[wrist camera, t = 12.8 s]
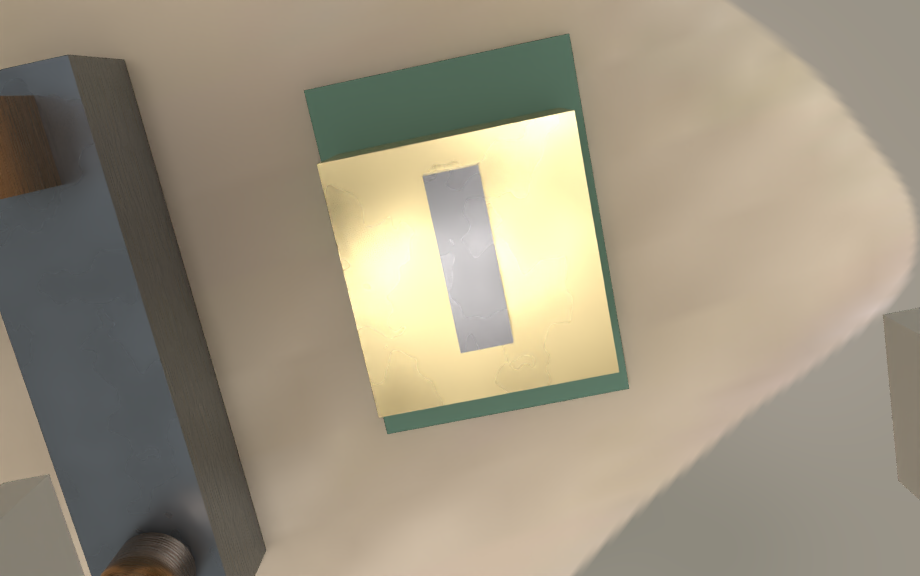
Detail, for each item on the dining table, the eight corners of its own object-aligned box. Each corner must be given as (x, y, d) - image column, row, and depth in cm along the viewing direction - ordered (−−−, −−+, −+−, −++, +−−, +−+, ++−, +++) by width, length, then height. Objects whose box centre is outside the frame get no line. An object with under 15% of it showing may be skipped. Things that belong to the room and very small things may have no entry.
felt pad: (307, 90, 31) (304, 90, 31) (567, 34, 31) (569, 33, 30) (389, 428, 35) (387, 434, 34) (626, 383, 34) (629, 388, 33)
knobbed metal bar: (-2, 87, 32) (-212, 86, 22) (124, 59, 31) (-33, 46, 22) (155, 570, 36) (40, 746, 27) (266, 550, 36) (190, 721, 26)
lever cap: (338, 153, 31) (312, 166, 26) (559, 107, 31) (577, 111, 26) (391, 374, 33) (376, 427, 28) (599, 334, 33) (623, 380, 28)
